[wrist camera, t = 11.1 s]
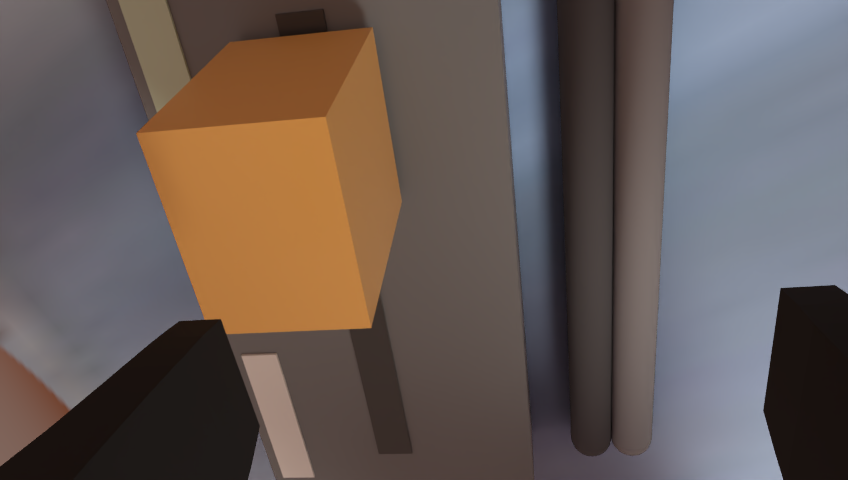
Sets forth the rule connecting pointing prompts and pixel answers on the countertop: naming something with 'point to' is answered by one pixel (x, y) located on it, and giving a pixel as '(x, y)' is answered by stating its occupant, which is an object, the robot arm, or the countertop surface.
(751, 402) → the countertop surface
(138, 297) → the countertop surface
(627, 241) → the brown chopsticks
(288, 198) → the knob
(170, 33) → the switch panel
